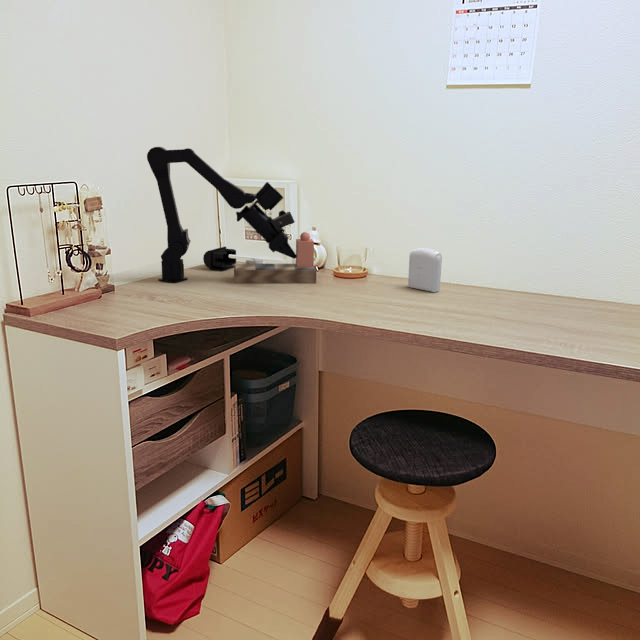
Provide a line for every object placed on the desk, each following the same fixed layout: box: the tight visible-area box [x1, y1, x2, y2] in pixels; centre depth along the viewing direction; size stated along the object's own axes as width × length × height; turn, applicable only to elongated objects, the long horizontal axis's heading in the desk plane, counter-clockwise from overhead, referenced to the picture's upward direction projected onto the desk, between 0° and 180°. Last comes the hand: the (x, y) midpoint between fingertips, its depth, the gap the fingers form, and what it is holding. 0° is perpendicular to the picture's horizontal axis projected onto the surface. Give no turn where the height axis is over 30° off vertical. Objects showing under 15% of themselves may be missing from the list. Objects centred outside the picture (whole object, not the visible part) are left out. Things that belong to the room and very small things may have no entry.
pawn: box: [295, 231, 315, 267], centre depth 201 cm, size 5×5×10 cm
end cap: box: [202, 246, 237, 272], centre depth 218 cm, size 10×7×7 cm
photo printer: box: [407, 247, 443, 293], centre depth 193 cm, size 10×4×12 cm, turn 44°
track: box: [233, 262, 317, 284], centre depth 201 cm, size 25×9×4 cm, turn 97°
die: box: [245, 257, 264, 264], centre depth 213 cm, size 4×4×4 cm
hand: (295, 257), depth 201 cm, fingers closed
